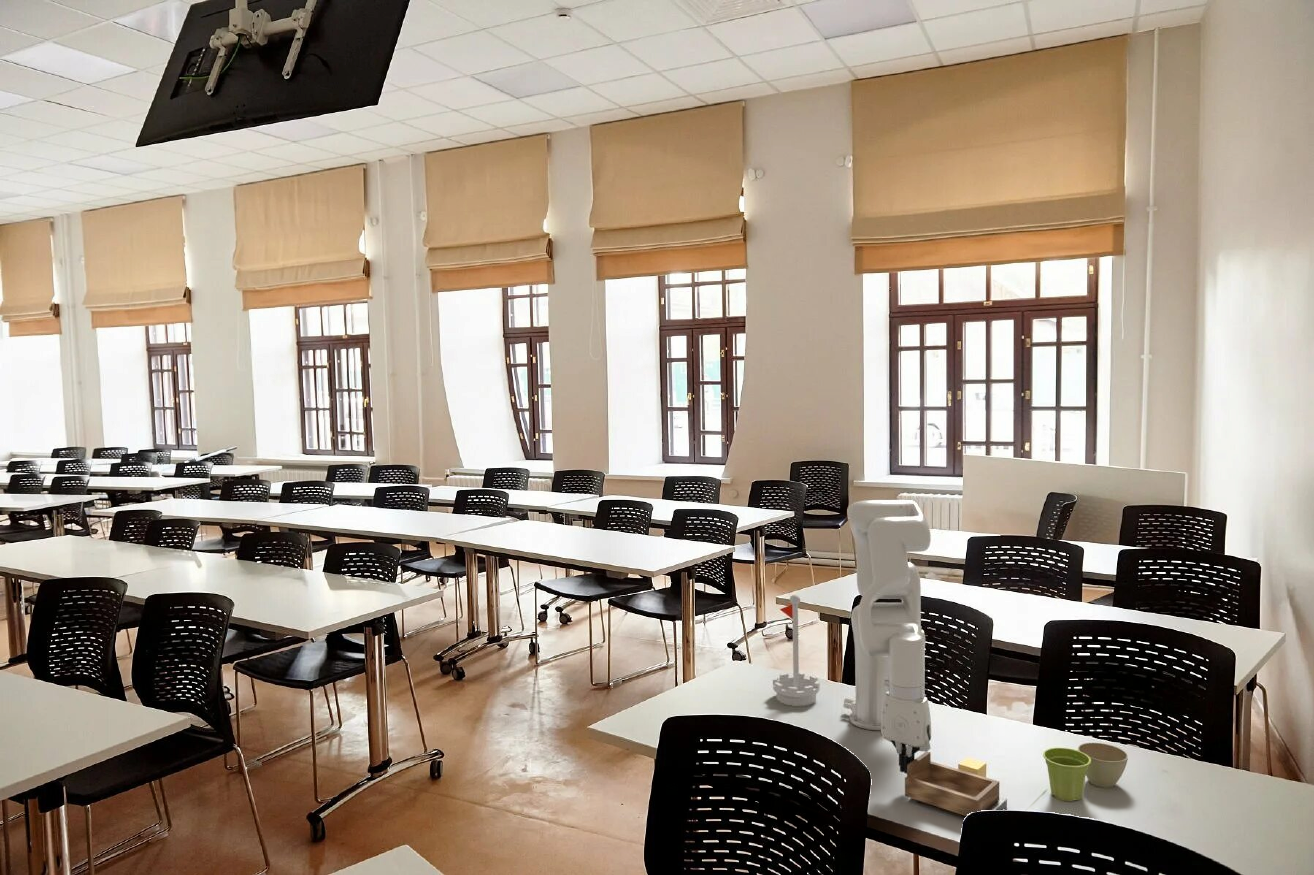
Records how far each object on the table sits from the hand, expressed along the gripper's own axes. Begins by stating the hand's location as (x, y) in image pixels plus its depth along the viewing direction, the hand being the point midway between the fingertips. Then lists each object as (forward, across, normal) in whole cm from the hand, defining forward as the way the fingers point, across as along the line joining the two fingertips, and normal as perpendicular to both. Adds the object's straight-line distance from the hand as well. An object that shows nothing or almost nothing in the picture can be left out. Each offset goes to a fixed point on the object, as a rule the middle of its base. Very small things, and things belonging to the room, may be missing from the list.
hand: (906, 770), depth 201 cm
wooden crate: (+4, +10, 0) cm, 11 cm away
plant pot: (+5, +27, +20) cm, 34 cm away
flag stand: (+6, -50, +30) cm, 59 cm away
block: (+5, +9, +13) cm, 17 cm away
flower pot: (+5, +31, +31) cm, 44 cm away
